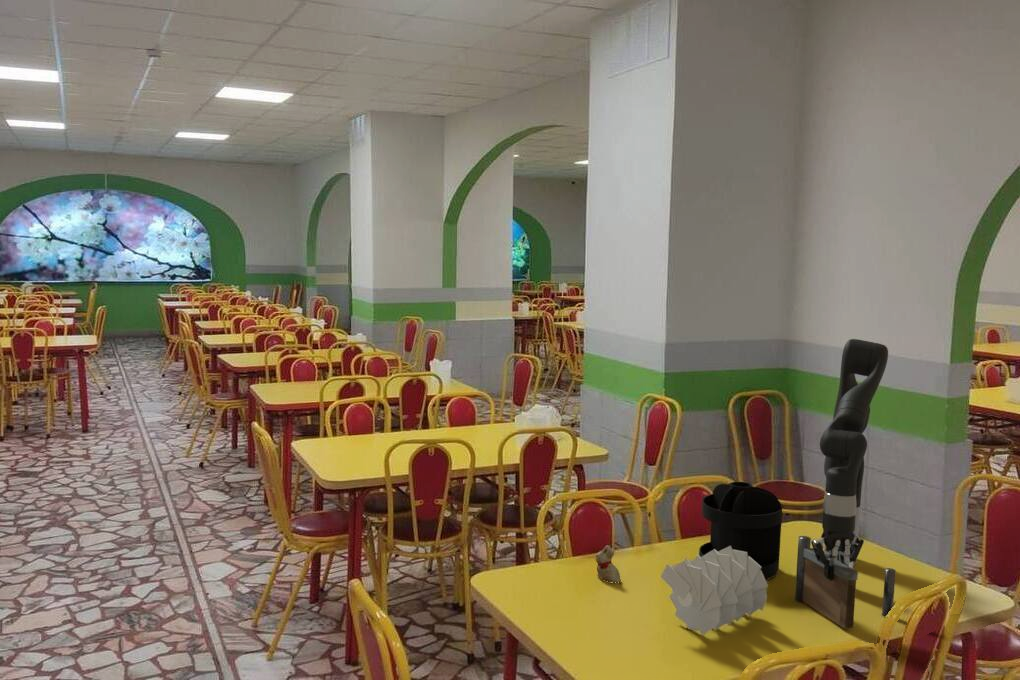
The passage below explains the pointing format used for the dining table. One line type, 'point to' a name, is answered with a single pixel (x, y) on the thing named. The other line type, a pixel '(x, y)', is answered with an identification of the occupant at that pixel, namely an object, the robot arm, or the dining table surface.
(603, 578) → the chocolate bunny
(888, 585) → the gate posts
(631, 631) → the dining table surface
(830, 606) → the gate
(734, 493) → the container
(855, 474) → the robot arm
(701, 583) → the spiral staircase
